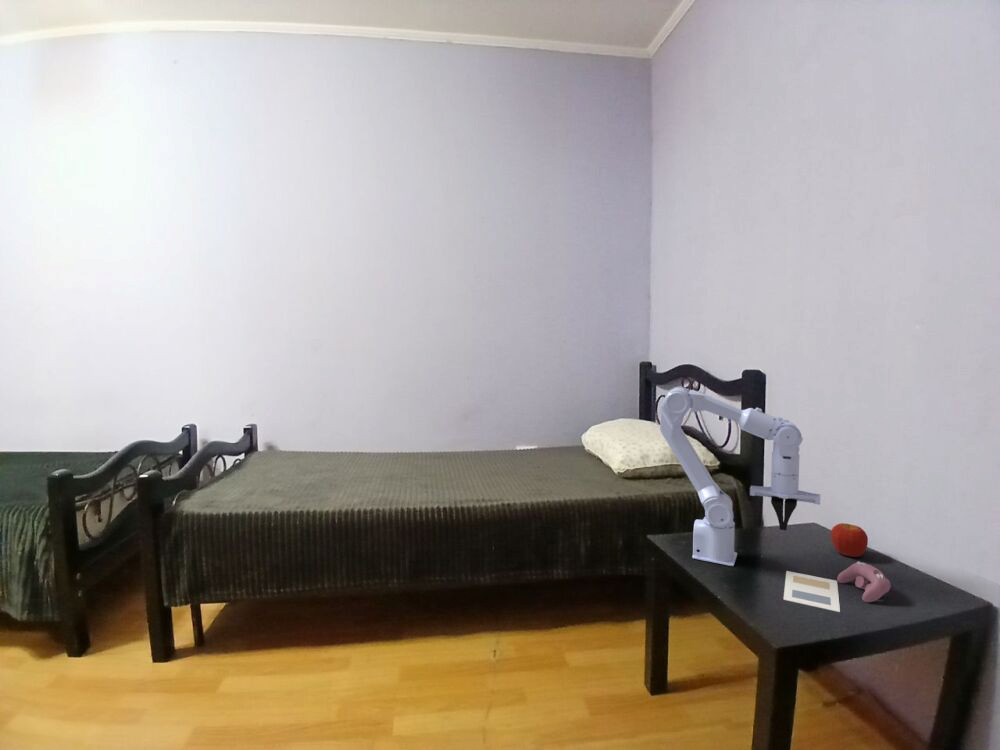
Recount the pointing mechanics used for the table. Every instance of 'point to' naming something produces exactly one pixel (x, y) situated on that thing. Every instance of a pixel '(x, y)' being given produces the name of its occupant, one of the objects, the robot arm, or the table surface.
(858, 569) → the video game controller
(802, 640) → the table surface
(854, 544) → the apple
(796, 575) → the label card
